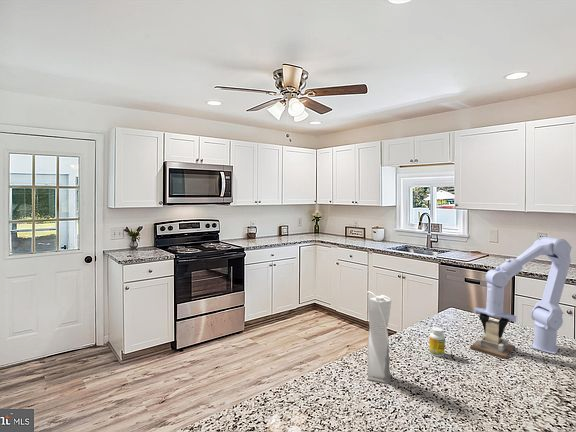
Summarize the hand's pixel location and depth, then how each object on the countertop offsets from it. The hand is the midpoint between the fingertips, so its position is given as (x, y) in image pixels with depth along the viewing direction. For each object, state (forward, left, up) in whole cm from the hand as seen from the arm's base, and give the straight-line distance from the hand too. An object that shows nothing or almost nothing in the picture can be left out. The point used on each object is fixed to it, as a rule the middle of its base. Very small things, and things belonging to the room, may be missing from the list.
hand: (493, 334), depth 140 cm
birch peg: (0, 0, -3) cm, 3 cm away
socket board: (0, 0, -5) cm, 5 cm away
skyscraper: (+52, -21, -6) cm, 56 cm away
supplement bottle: (+21, -14, -6) cm, 26 cm away
